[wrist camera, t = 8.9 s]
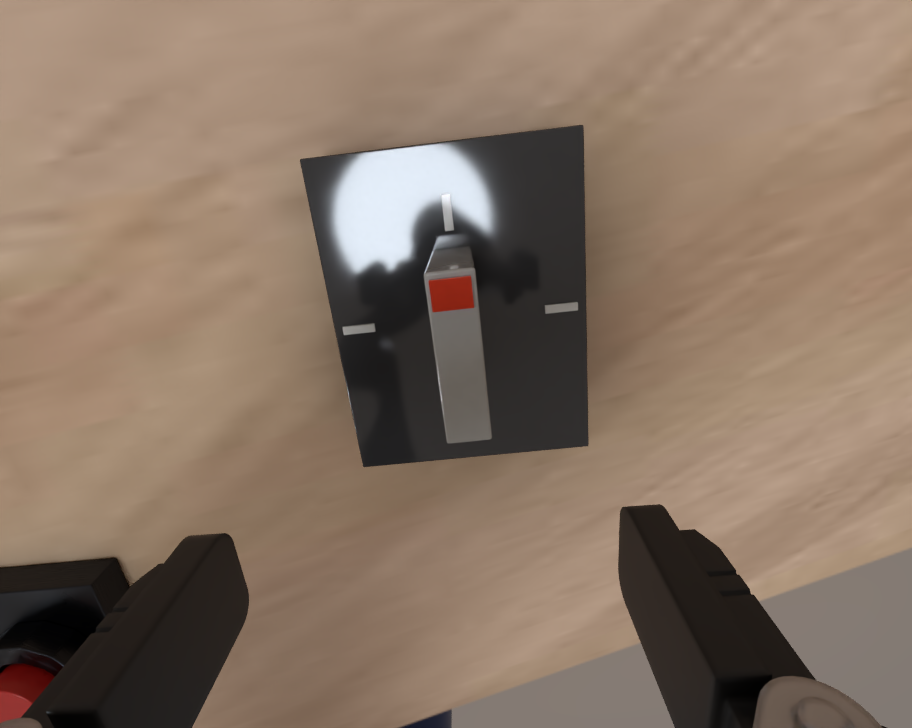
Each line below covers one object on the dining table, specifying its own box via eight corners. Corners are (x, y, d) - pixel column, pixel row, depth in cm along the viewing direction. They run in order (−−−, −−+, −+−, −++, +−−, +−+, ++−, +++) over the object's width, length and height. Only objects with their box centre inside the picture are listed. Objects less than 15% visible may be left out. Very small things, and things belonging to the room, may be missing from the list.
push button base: (173, 683, 33) (136, 747, 29) (48, 692, 33) (-4, 757, 30) (116, 557, 29) (66, 612, 25) (-24, 569, 30) (-94, 625, 26)
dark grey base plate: (574, 417, 26) (589, 448, 23) (373, 437, 26) (362, 469, 23) (566, 132, 21) (584, 124, 18) (319, 162, 21) (297, 158, 18)
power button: (75, 702, 28) (52, 734, 27) (18, 706, 29) (-9, 738, 27) (51, 659, 27) (25, 689, 26) (-9, 663, 27) (-39, 694, 26)
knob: (484, 380, 22) (493, 443, 16) (449, 383, 22) (446, 448, 16) (470, 245, 20) (475, 268, 14) (431, 250, 20) (422, 274, 14)
